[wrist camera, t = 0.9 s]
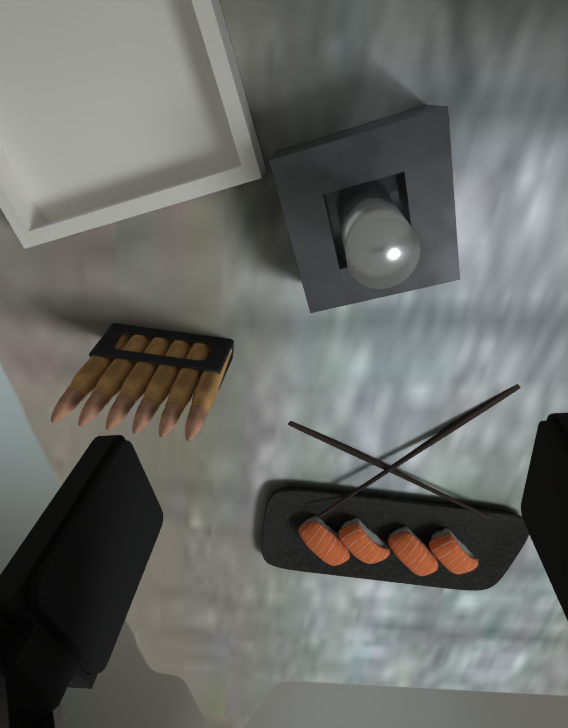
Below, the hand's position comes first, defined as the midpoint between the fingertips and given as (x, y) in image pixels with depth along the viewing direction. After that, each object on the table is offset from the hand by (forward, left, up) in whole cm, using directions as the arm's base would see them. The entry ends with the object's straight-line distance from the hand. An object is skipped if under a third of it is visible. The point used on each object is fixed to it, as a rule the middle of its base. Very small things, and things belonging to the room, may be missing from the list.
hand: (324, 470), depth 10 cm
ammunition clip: (+15, +7, -25) cm, 30 cm away
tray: (+12, -13, -25) cm, 30 cm away
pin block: (-3, 0, -25) cm, 25 cm away
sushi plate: (-2, +30, -26) cm, 39 cm away
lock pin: (-3, 0, -24) cm, 24 cm away
